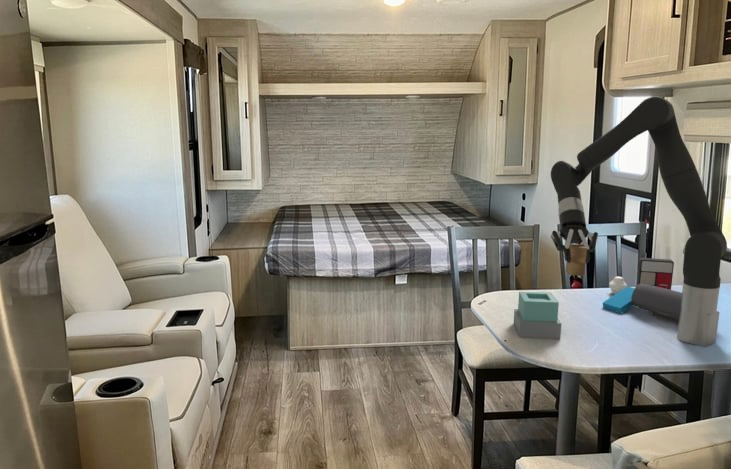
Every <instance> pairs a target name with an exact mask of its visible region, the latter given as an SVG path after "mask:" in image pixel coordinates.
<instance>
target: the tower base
mask: <svg viewBox="0 0 731 469" xmlns="http://www.w3.org/2000/svg"><path fill="white" fill-rule="evenodd" d="M559 304H560V303H559V300H557V298H556V296H555V295H554V294H553V293H552V292H544V291H543V292H541V291H538V292H537V291H518V304H517V305H518V306H517V308H514V310H513V311H514V312H513V325H514V328H515V330H516V332H517V335H518V337H519V338H523V339H526V338H528V339H544V340H545V339H546V340H547V339H549V340H561V335H562V334H561V333H562V322H561V320H560V319H559V316H558V315H559Z"/></svg>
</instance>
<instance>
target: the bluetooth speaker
mask: <svg viewBox="0 0 731 469" xmlns="http://www.w3.org/2000/svg"><path fill="white" fill-rule="evenodd" d="M634 288H635V289H634V291H633V294H632V297H631V300H632V304H633V306H634V307H635V308H637V309H641V310H644V311H646V312H648V313H652V316H653V317H656V318H658V319H661V320H664V321H667V322H670V323H674V324H675V323H676V324H678V323H679V315H680V306H681V298H682V292H680V291H676V290H673V289H671V290H669V289H665V288H661V287H656V286H652V285H646V284H638V285H637V284H636V286H635V287H634Z"/></svg>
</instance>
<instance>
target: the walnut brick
mask: <svg viewBox="0 0 731 469" xmlns="http://www.w3.org/2000/svg"><path fill="white" fill-rule="evenodd" d="M569 249H570V256H571V261H570V263H567V262H566V263H565V264H566V266H565V273H567V274H568V276H580V277H581V276H585V272H586V254H587V248H586V247H585V246H584V245H579V244H575V243H574V244H570V245H569Z"/></svg>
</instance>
